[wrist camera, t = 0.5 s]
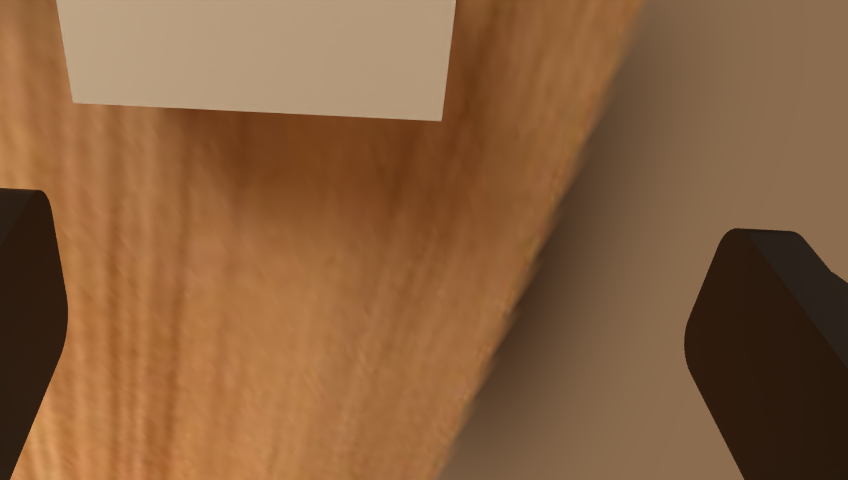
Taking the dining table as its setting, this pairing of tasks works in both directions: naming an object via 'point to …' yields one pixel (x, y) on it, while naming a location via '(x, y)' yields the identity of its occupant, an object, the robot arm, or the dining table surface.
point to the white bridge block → (262, 55)
